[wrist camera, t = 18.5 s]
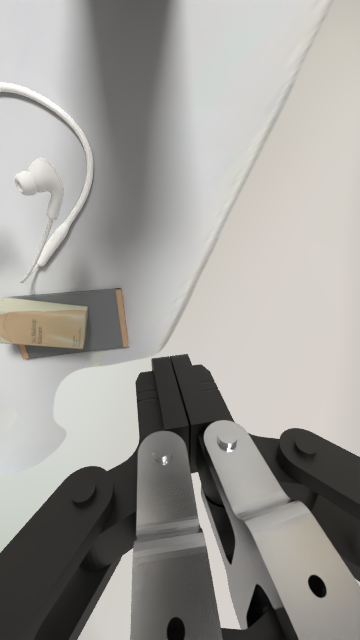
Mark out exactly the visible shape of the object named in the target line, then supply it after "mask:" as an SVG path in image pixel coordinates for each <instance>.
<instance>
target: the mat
mask: <svg viewBox="0 0 360 640" xmlns="http://www.w3.org/2000/svg"><path fill="white" fill-rule="evenodd" d="M8 298H16V299H24V300H33V301H42V302H50V303H59V304H68V305H77V306H87V307H88V316H87V328H86V337H85V342H84V346H83V349H74V348H60V347H47V346H32V345H19V348H20V351H21V354H22V357H23V359H29V358H36V357H44V356H53V355H61V354H70V353H78V352H86V351H95V350H103V349H112V348H120V347H128V338H127V330H126V323H125V315H124V307H123V299H122V291H121V288H116V289H104V290H91V291H79V292H66V293H54V294H41V295H29V296H16V297H8Z"/></svg>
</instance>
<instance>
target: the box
mask: <svg viewBox="0 0 360 640" xmlns="http://www.w3.org/2000/svg"><path fill="white" fill-rule="evenodd" d="M87 316H88V307H87V306H77V305H68V304H59V303H50V302H42V301H33V300H24V299H16V298H8V297H3V298H2V299H1V300H0V343H5V344H18V345H32V346H47V347H60V348H74V349H83V346H84V342H85V337H86V328H87Z"/></svg>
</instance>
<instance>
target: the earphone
mask: <svg viewBox="0 0 360 640" xmlns="http://www.w3.org/2000/svg"><path fill="white" fill-rule="evenodd" d="M0 92H11V93H16V94H20V95H23V96H26V97H28V98H31V99H33V100H35V101H37V102H39V103H41V104H42V105H44V106H46V107H47V108H49V109H50V110H52V111H53V112H55V113H56V114H57V115H59V116H60V117H61V118H62V119H64V120H65V121H66V122H67V123H68V124H69V125H70V126H71V127H72V129H73V130H74V131H75V132H76V134H77V135H78V137H79V138H80V140H81V142H82V144H83V147H84V150H85V153H86V158H87V176H86V182H85V185H84V189H83V191H82V194H81V196H80V198H79V200H78V202H77V204H76V206H75V207H74V209H73V210H72V212H71V213H70V215H69V216H68V218H67V220H66V221H65V223H63V224H62V225H61V226H60V227H58V228H57V229H56V231H55V232H54V234H53V235H52V236H51V238H50V239H49V241H48V242H47V243H46V240H47V237H48V235H49V232H50V229H51V226H52V223H53V220H55V219H57V218H58V215H59V211H60V207H61V204H62V200H63V195H64V189H63V185H62V182H61V179H60V177H59V176H58V174H57V172H56V170H55V169H54V167H53V166H52V165H51V164H50V162H49V161H47V160H46V159H44V158H38V159H36V160H34V161H33V163H32V164H31V165H30V167H29V169H28V171H22V172H19V173H18V174H17V175H16V176H15V185H16V187H17V189H18V190H19V191H20V192H21V193H22V194H24V195H34V194H36V193H37V192H45V191H50V192H51V198H50V202H49V206H48V210H47V216H48V217H49V218H50V219H49V222H48V226H47V229H46V232H45V234H44V237H43V240H42V243H41V245H40V248H39V251H38V253H37V255H36V258H35V260H34V262H33V264H32V266H31V268H30V270H29V271H28V273H27V274H26V276H25V277H24V278H23V279H22V280H21V281H20V282H21V283H23V282H24V281H25V280H26V279H27V278H28V277H29V276H30V275H31V274H32V273H33V272H34V270H35V269H36V268H37V267H38V266H44V265H45V264H46V263H47V261H48V260H49V258H50V257H51V256H52V254H53V253H54V252H55V250H56V249H57V248H58V246H59V245H60V243H61V242H62V241H63V239H64V238H65V237H66V235H67V233H68V230H69V228H70V225H71V224H72V222H73V221H74V219H75V218H76V216H77V215H78V213H79V212H80V210H81V208H82V207H83V205H84V203H85V201H86V199H87V196H88V194H89V191H90V188H91V184H92V179H93V156H92V152H91V148H90V145H89V143H88V141H87V138H86V137H85V135H84V133H83V131H82V130H81V129H80V127H79V126H78V125H77V123H76V122H75V121H74V120H73V119H72V118H71V117H70V116H69V115H68V114H67V113H66V112H65V111H63V110H62V109H61V108H60V107H58V106H57V105H56V104H54V103H53V102H51V101H50V100H48V99H47V98H45V97H43V96H42V95H40V94H38V93H36V92H34V91H32V90H30V89H27V88H25V87H22V86H19V85H15V84H10V83H0ZM45 243H46V245H45ZM44 245H45V246H44Z"/></svg>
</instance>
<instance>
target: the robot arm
mask: <svg viewBox="0 0 360 640" xmlns="http://www.w3.org/2000/svg"><path fill="white" fill-rule="evenodd" d="M136 395H137V408H138V421H139V435H140V438H139V444H138V447H137V449H136V451H135V452H134V453H133V455H132V456H131V457H130V458H129V459H128V460H127V461H125V462H123V463H122V464H120V465H118V466H116V467H115V468H112V469H111V470H109V471H106V470H105V469H103V468H101V467H97V466H89V467H84V468H81V469H79V470H77V471H75V472H74V473H72V474H71V475H70V476H68V477H67V478H66V479H65V480H64V482H63V483H62V484H61V485H60V486H59V487H58V488H57V489H56V490H55V492H54V493H53V494H52V495H51V496H50V497H49V498H48V500H47V501H46V502H45V503H44V504H43V505H42V506H41V508H40V509H39V510H38V511H37V512H36V513H35V514H34V515H33V517H32V518H31V519H30V520H29V521H28V522H27V523H26V525H25V526H24V527H23V528H22V529H21V530H20V531H19V533H18V534H17V535H16V536H15V537H14V538H13V539H12V540H11V541H10V543H9V544H8V545H7V546H6V547H5V548H4V549H3V551H2V552H1V553H0V640H77V639H78V637H79V635H80V633H81V632H82V630H83V628H84V626H85V624H86V622H87V621H88V619H89V617H90V615H91V613H92V611H93V609H94V608H95V606H96V604H97V602H98V600H99V598H100V597H101V595H102V593H103V591H104V589H105V587H106V585H107V584H108V582H109V580H110V578H111V576H112V574H113V573H114V571H115V569H116V567H117V565H118V563H119V561H120V559H121V557H122V555H124V554H125V553H127V552H128V551H129V550H131V549H132V548H133V569H132V602H131V603H132V604H131V637H130V640H360V586H359V584H358V583H357V582H356V580H355V579H357V580H358V581H360V457H359V456H356V455H355V454H353V453H351V452H349V451H346V450H345V449H343V448H341V447H339V446H337V445H335V444H333V443H331V442H329V441H327V440H325V439H323V438H322V437H320V436H318V435H316V434H314V433H312V432H310V431H307V430H304V429H299V428H292V429H288V430H286V431H284V432H283V433H282V435H281V437H280V439H275V438H266V437H258V436H254V435H251V434H249V433H247V431H246V430H245V429H244V428H243V427H242V426H240V425H239V424H237V423H235V422H234V420H233V418H232V416H231V414H230V412H229V410H228V408H227V406H226V404H225V402H224V400H223V398H222V396H221V394H220V391H219V390H218V387H217V385H216V383H215V382H214V379H213V377H212V375H211V373H210V371H208V370H207V369H206V368H205V367H204V366H202V365H193V366H192V364H191V361H190V359H189V357H188V354H184V355H176V356H170V358H169V356H168V357H161V358H153V359H152V371H149V372H142V373H140V374H139V376H138V378H137V380H136ZM195 472H198V473H199V477H200V480H201V495H202V499H203V502H204V505H205V508H206V511H207V514H208V517H209V520H210V523H211V526H212V529H213V532H214V535H215V538H216V541H217V544H218V547H219V550H220V553H221V556H222V559H223V562H224V565H225V569H226V573H227V578H228V585H229V590H230V594H231V598H232V602H233V606H234V609H235V612H236V615H237V618H238V621H239V624H240V628H241V630H237V629H226V628H221V627H220V621H219V616H218V610H217V604H216V598H215V593H214V587H213V581H212V576H211V570H210V564H209V559H208V553H207V547H206V543H205V538H204V534H203V531H202V529H201V527H200V524H199V520H198V515H197V509H196V502H195V496H194V490H193V484H192V478H191V473H195Z"/></svg>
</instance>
